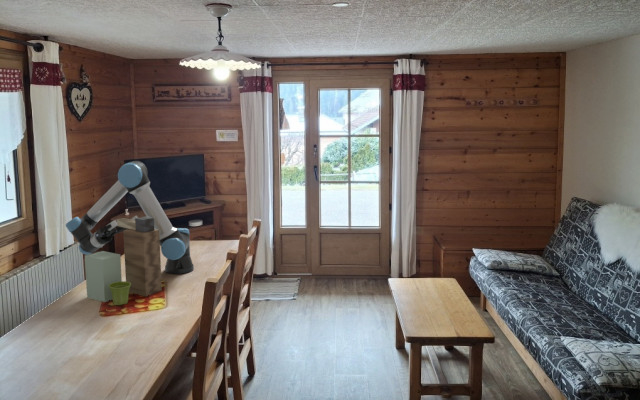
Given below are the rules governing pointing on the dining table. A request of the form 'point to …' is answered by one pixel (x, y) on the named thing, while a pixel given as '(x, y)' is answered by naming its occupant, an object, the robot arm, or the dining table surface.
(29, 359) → the dining table surface
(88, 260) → the pale green block
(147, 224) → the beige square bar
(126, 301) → the plant pot
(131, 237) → the stand tall
